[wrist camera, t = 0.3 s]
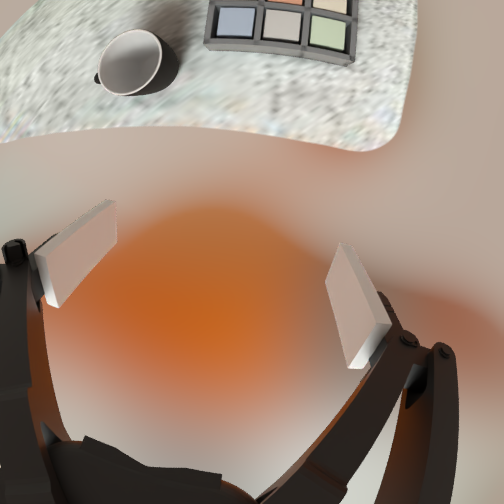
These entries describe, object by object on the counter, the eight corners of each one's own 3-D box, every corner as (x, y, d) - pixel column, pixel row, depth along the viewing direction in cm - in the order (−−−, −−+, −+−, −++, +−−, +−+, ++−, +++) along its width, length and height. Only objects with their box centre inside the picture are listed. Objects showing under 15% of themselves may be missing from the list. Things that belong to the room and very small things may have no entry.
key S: (312, -11, 23) (314, -17, 22) (343, -5, 23) (346, -10, 22) (311, 11, 25) (313, 7, 24) (342, 18, 25) (346, 14, 24)
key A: (222, 12, 26) (220, 7, 24) (255, 13, 26) (254, 8, 24) (219, 38, 28) (216, 34, 27) (252, 39, 28) (251, 35, 27)
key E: (310, 19, 26) (312, 15, 24) (341, 26, 26) (345, 22, 24) (307, 46, 28) (310, 42, 27) (340, 52, 28) (343, 49, 27)
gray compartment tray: (222, -33, 23) (218, -45, 19) (350, -18, 23) (358, -28, 19) (209, 50, 31) (203, 43, 27) (345, 66, 31) (354, 61, 27)
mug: (184, 38, 30) (160, 19, 21) (188, 91, 34) (164, 85, 25) (114, 58, 31) (78, 50, 22) (118, 107, 35) (81, 110, 26)
